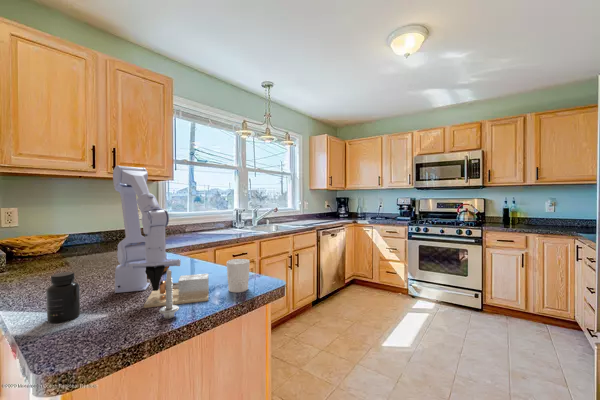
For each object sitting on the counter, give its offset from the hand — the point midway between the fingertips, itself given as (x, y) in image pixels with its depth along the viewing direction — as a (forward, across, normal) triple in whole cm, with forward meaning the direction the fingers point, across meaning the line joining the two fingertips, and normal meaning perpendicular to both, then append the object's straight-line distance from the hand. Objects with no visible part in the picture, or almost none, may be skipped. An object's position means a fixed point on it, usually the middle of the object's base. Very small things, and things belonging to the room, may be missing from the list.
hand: (155, 289), depth 89 cm
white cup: (+3, +26, +1) cm, 26 cm away
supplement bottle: (+3, -21, -8) cm, 23 cm away
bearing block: (+3, +7, 0) cm, 8 cm away
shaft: (+1, +7, 0) cm, 7 cm away
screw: (+3, +6, -16) cm, 17 cm away
